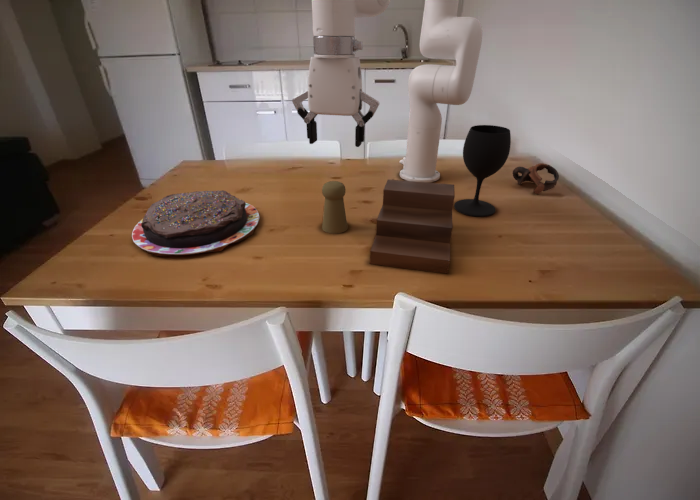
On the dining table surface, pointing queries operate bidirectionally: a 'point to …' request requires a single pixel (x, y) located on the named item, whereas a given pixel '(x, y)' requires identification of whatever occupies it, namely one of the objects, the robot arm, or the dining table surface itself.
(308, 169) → the dining table surface
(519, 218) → the dining table surface
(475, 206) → the wine glass
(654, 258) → the dining table surface
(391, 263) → the spice rack
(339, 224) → the olive peg figure
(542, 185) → the brown twisted piece
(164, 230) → the chocolate cake
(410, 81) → the robot arm
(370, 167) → the dining table surface
